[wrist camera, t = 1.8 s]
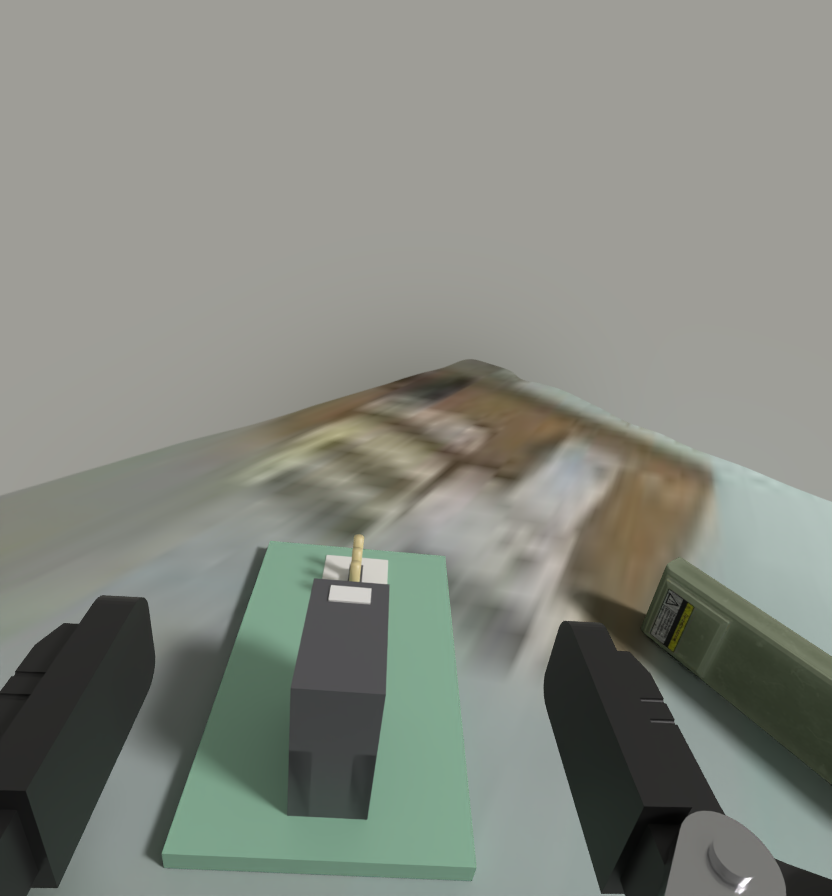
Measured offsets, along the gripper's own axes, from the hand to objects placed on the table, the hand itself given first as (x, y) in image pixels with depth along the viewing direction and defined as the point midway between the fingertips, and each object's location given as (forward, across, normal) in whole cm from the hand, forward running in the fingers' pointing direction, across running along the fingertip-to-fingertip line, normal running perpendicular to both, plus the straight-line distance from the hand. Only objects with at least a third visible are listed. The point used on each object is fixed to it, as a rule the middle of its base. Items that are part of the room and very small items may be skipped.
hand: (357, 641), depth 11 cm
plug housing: (+11, 0, +19) cm, 22 cm away
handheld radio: (+12, -29, +21) cm, 38 cm away
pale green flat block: (+17, 0, +20) cm, 26 cm away
